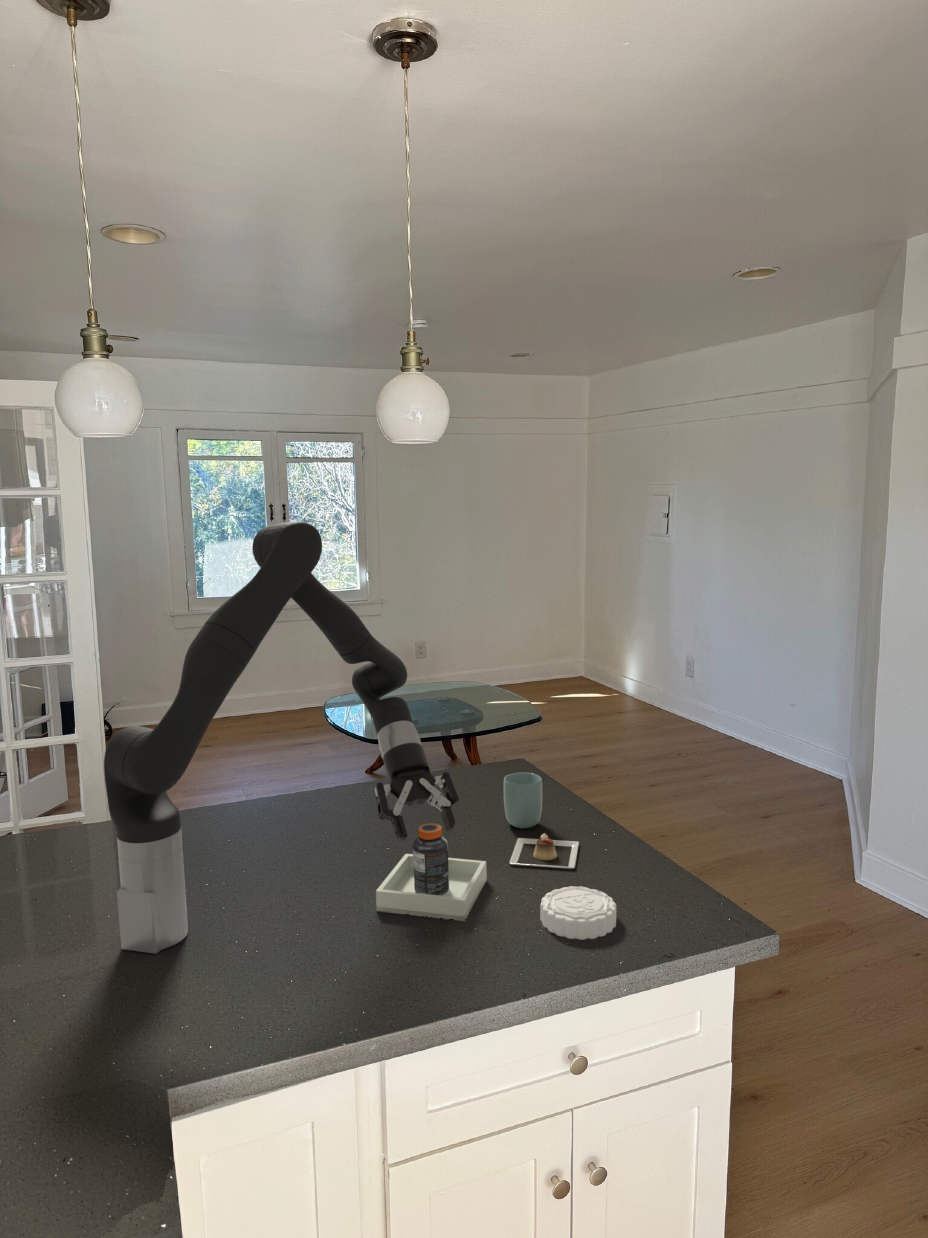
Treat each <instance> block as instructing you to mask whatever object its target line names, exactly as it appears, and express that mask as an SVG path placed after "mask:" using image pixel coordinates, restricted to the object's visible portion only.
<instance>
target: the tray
mask: <svg viewBox="0 0 928 1238" xmlns="http://www.w3.org/2000/svg"><path fill="white" fill-rule="evenodd" d="M448 863H449V864H448V867H449V890H448V892H447V893H445V894H444V895H441V896H440V895H430V894H421V893H416V892H415V888H414V860H413V853H405V854H404V855H403V856H402V857H401V859H400V860H399V862H397V864H396V865H395V866H394V868H393V869H392V870H391V871H390V872H389V874H388V875H387V876H386V877H385V879H384V880H383V882H382V883H380V885H379V887H378V888H377V889H376V890H375V902H376V904H375V906H376V912H379V911H380V912H381V913H389V914H390V913H391V914H398V915H405V914H406V915H407V914H409V915H408V916H415V917H423V916H424V917H425V918H431V917H432V919H433V918H434V919H440V918H443V919H442V920H449V919H454V920H453V921H459V922H466V920H467V918H468V916H469V914H470V913H471V910H472V909H473V907H474V905H475V903H476V901H477V899H478V898H479V895H480V894H481V892H482V890H483V887H484V886H485V884H486V882H487V878H488V877H487V874H488V873H487V860H475V859H467V858H466V859H465V858H454V857H448ZM469 912H470V913H469ZM426 916H427V917H426ZM465 919H466V920H465Z"/></svg>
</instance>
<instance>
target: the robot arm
mask: <svg viewBox="0 0 928 1238" xmlns="http://www.w3.org/2000/svg"><path fill="white" fill-rule="evenodd" d="M322 551H323V541H322V537H321V534H320V532H319V530H318V529H317V528H316V527H315V526H314V525H313V524H310V523H308V522H306V521H296V520H294V521H287V522H281V523H280V522H279V523H275V524H270V525H267V526H265V527H262V528H261V529H260V530H258V532H257V533H256V534H255V536H254V538H253V541H252V554H253V558H254V561H255V562H256V564H257V565H258V567H259V570H257V573H256V574H254V576H253V577H252V579H250V581H249V582H248V583H246V584H245V585H244V586H243V587H241V589H239V591H237V592H236V593H234V594H233V595H232V596H231V597H230V598H228V599H227V600H226V601H225V602H223V604H222V605H220V606H219V607H218V608H217V609H216V610H215V611H214V612H213V613H212V614H211V615H210V616H209V618H208V619H207V620H206V621H205V623H204V624H203V625H202V627H201V628H200V630H199V632H198V633H197V634H196V636H195V637H194V639H193V640H192V642H191V643H190V645H189V646H188V648H187V651H186V653H185V657H184V660H183V665H182V669H181V677H180V683H179V687H178V692H177V694H176V696H175V698H174V700H173V701H172V704H171V705H170V707H169V708H168V710H167V711H166V713H165V714H164V715H163V717H162V719H160V721H159V722H158V724H157V725H155V727H154V728H151V727H150V728H149V727H146V726H139V725H131V726H127V727H125V728H121V729H120V730H119V731H117V732H116V733H115V734H114V735H113V736H112V737H111V739H110V740H109V742H108V744H107V746H106V749H105V751H104V759H103V772H104V773H103V774H104V782H105V790H106V799H107V805H108V806H107V807H108V810H109V811H108V812H109V815H110V818H111V820H112V822H113V824H114V826H115V830H116V831H115V833H116V842H117V854H118V855H117V857H118V867H119V869H118V870H119V878H120V879H119V881H120V888H119V889H117V891H116V893H117V894H116V895H117V896H116V897H117V907H118V918H119V919H118V921H119V922H118V923H119V933H120V946H121V950H126V951H131V952H132V951H134V952H142V953H147V954H148V953H149V954H158V953H159V952H160V951H162V950H164V949H168V948H170V947H173V946H175V945H176V944H179V943H180V942H182V941H184V939H185V938H186V936H187V935H188V933H189V925H188V911H187V910H188V908H187V898H186V897H187V895H186V894H187V893H186V883H185V882H186V879H185V866H184V853H183V852H184V851H183V836H182V834H183V833H182V820H181V813H180V809H179V808H178V807H177V805H175V804H174V803H173V801H172V800H171V798H170V797H169V795H168V793H167V791H169V790H170V789H172V788H173V787H174V786H175V785H176V784H177V783H178V782H179V780H180V779H181V778H182V777H183V775H184V773H185V771H186V770H187V769H188V766H189V765H190V763H191V762H192V759H193V757H194V755H195V753H196V752H197V750H198V747H199V746H200V743H201V741H202V739H203V738H204V736H205V733H206V731H207V730H208V728H209V726H210V724H211V722H212V720H213V719H214V717H215V716H216V713H217V712H218V710H219V709H220V707H221V706H222V704H223V703H224V701H225V699H226V698H227V696H228V695H229V693H230V691H231V690H232V688H233V687H234V685H235V684H236V682H237V681H238V679H239V678H240V677H241V675H242V673H243V672H244V670H245V669H246V668H247V666H248V664H250V661H251V660H252V658H253V656H254V655H255V654H256V652H257V650H258V649H259V646H260V644H261V643H262V642H263V640H264V638H265V637H266V636H267V634H268V632H270V629H271V628H272V627H273V625H274V623H275V622H276V621H277V618H278V617H279V615H280V614H281V612H282V610H283V609H284V607H285V606H286V605H287V603H288V602H289V601H290V600H291V599H292V600H293V601H294V603H295V604H297V605H298V606H299V608H300V609H302V610H303V612H304V613H305V614H306V615H307V616H308V617H309V618H310V619H311V621H312V622H314V624H315V625H316V626H317V627H318V629H319V630H320V631H321V632H322V634H323V635H324V636H325V637H326V639H327V640H328V642H329V643H330V645H331V646H332V647H333V649H334V650H335V651H336V652H337V654H338V655H339V656H340V658H341V659H342V660H343V661H344V662H345V663H346V664H349V665H355V664H361V663H365V662H366V664H363V665H361V666H360V667H357V669H355V670H354V671H353V673H352V676H351V684H352V688H353V690H354V691H355V693H356V694H357V696H358V697H359V699H360V700H361V702H362V703H363V704H364V706H365V707H366V710H367V711H368V713H369V715H370V717H371V719H372V723H373V725H374V729H375V732H376V733H375V734H376V736H377V739H378V740H377V741H378V749H379V751H380V752H379V754H380V757H381V758H382V761H383V765H384V768H385V771H386V772H385V773H386V776H387V779H388V782H389V783H387V784H384V783H383V782H377V783H376V785H375V788H374V789H373V795H374V799H375V804H376V809H377V813H378V814H377V815H378V817H379V819H380V820H381V821H385V820H388V821H391V824H392V827H393V831H394V834H395V835H394V836H395V837H396V838H397V839H399V840H400V841H401V842H402V841H403V842H404V841H406V839H407V838H408V833H407V829H406V825H405V823H404V819H403V815H400V814H401V812H402V809H403V808H404V805H406V806H408V807H411V806H414V805H417V804H418V805H423V804H425V803H428V804H429V805H430V806H431V807H435V808H436V809H438V810H439V811H440V812H441V813H440V816H441V819H442V822H443V825H444V828H445V831H446V833H450V832H452V831H453V830H454V827H455V826H456V819H455V816H454V814H453V810H452V809H453V808H455V807H456V805H457V803H458V802H459V800H460V798H459V795H458V793H457V790H456V788H455V785H454V783H453V781H452V779H451V776H450V773H449V772H448V771H443V772H442V774H441V775H437V776H435V775H433V774H432V773H431V770H430V766H429V762H428V759H427V756H426V754H425V750H424V747H423V745H422V741H421V738H420V734H419V733H418V730H417V729H416V727H415V725H414V722H413V718H412V715H411V711H410V708H409V706H408V703H407V701H406V700H405V699H404V698H403V697H398V696H391V697H386V698H383V697H385V696H386V695H388V694H390V693H392V692H394V691H396V690H398V689H400V688H402V687H403V686H404V685H405V684H406V683H407V680H408V669H407V667H406V665H405V664H404V662H403V661H402V660H401V658H399V656H398V655H396V654H395V653H394V652H393V651H391V650H390V649H389V648H387V647H386V646H384V645H383V644H382V643H381V642H380V641H378V640H377V638H375V637H374V636H373V635H372V634H371V632H370V630H368V628H367V626H366V625H365V624H364V623H363V621H362V619H361V618H360V617H359V616H358V614H357V613H356V612H355V611H354V610H353V609H352V608H351V607H350V606H349V604H347V603H346V602H344V600H342V599H341V598H339V597H338V596H337V595H336V594H334V593H333V592H332V591H330V590H329V589H328V588H327V587H326V586H325V585H324V584H322V583H321V582H320V581H319V580H318V579H317V577H315V575H314V574H313V573H312V572H313V571H314V570H315V568H316V567H317V565H318V564H319V561H320V558H321V556H322ZM381 698H382V699H381ZM435 785H437V786H438V787H439V789H442V791H443V794H444V795H443V794H442V792H441V791H439V789H437V788H436V787H435ZM389 792H390V794H392V795H393V797H395V798H396V799H397V800H396V803H395V805H394V808H393V809H390V808H389V805H388V800H387V799H388V798H387V796H388V795H389Z"/></svg>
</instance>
